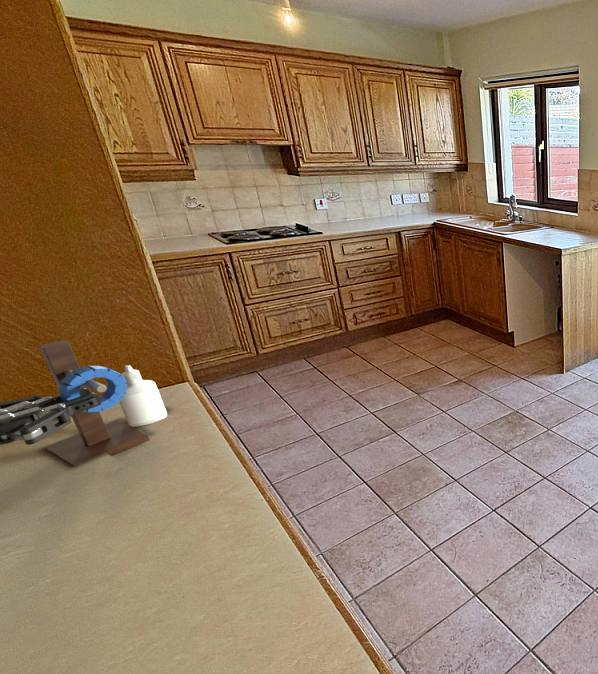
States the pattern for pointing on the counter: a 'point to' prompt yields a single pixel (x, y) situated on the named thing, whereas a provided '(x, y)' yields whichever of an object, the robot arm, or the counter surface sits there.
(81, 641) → the counter surface
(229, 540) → the counter surface
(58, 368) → the hook stand
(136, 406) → the eye dropper bottle
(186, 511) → the counter surface
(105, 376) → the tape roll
